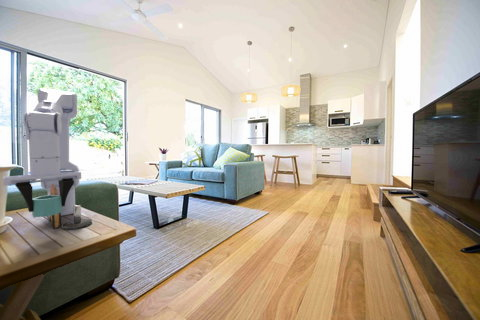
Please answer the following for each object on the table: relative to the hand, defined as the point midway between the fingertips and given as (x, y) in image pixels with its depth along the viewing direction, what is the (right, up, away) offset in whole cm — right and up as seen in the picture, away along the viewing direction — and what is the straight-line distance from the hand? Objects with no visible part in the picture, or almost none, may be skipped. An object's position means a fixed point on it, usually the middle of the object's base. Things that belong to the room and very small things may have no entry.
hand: (47, 208), depth 53 cm
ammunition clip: (-6, -7, +9) cm, 13 cm away
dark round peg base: (+2, -7, +8) cm, 11 cm away
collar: (0, -1, 0) cm, 1 cm away
